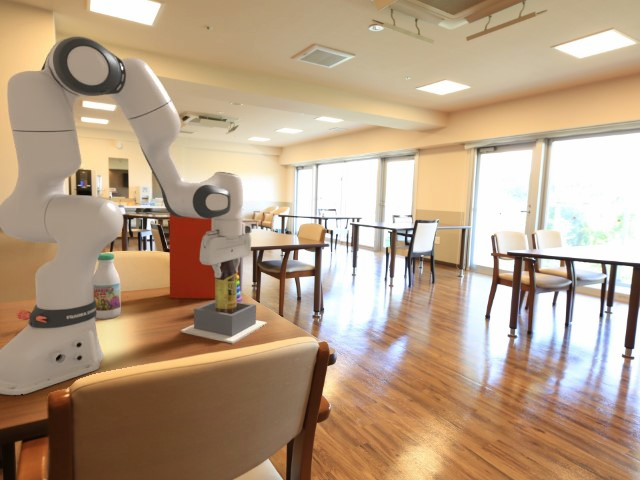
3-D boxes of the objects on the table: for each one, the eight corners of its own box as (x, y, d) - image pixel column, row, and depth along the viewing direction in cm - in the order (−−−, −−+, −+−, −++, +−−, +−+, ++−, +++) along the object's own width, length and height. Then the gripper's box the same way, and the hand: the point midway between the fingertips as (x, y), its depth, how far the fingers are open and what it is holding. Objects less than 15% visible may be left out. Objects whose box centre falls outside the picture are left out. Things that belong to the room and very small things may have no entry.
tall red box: (175, 293, 152) (174, 212, 148) (219, 293, 154) (220, 213, 151) (169, 298, 144) (169, 213, 140) (216, 299, 146) (217, 215, 143)
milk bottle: (94, 313, 125) (92, 252, 122) (120, 311, 128) (119, 251, 126) (92, 320, 118) (90, 256, 115) (121, 318, 121) (119, 255, 119)
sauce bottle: (231, 316, 112) (231, 249, 109) (211, 314, 114) (210, 248, 110) (240, 309, 119) (240, 245, 116) (221, 307, 120) (220, 244, 117)
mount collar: (232, 343, 105) (233, 320, 104) (181, 332, 112) (181, 310, 111) (266, 324, 121) (267, 303, 121) (219, 315, 128) (219, 295, 127)
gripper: (213, 232, 102) (212, 283, 104) (254, 227, 121) (254, 270, 123) (194, 230, 104) (194, 280, 106) (238, 225, 123) (237, 267, 125)
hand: (226, 274), depth 115 cm, fingers closed on sauce bottle, 6 cm apart
